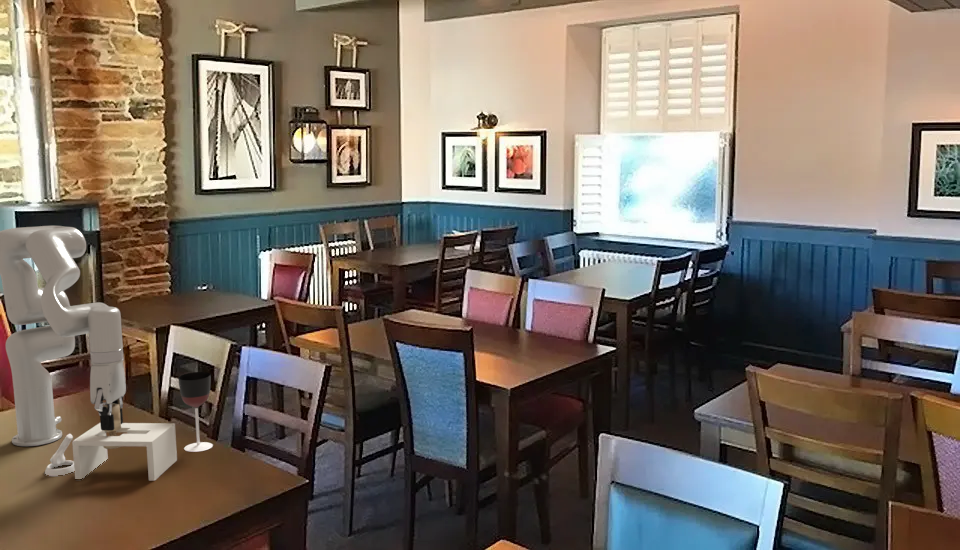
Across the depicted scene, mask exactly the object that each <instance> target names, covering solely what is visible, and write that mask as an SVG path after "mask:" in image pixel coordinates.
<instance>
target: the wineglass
mask: <svg viewBox="0 0 960 550" xmlns="http://www.w3.org/2000/svg"><path fill="white" fill-rule="evenodd" d="M211 380H212V379H211V373H210V372H206V371H196V372H189V373H187V372H186V373H184V374H182V375H179V376H178V386H179V393H180V395H181V396H180V397H181V399H182V401H183V403H184V404H185V405H188V406H190V407H192V408H194V413H195V414H194V415H195V416H194V417H195V432H196V434H195V435H196V442H193V443H189V444H187V445H185V447H184V448H183V449H184V450H185V451H186V452H192V453H194V452H195V453H196V452H203V451H207V450H209V449H212V448H213V446H214V444H213V443H211V442H207V441H204V442H203V441H201V440H200V437H201V436H200V423H199V422H200V421H199V407H200V406H201V405H203V404H205V403H206V402H207V401H208V399H209V396H210V394H211Z"/></svg>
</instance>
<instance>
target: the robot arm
mask: <svg viewBox="0 0 960 550" xmlns="http://www.w3.org/2000/svg"><path fill="white" fill-rule="evenodd" d="M86 250H87V241H86V238H85V236H84V234H83V233H82V232H81V231H80V230H79V229H77V227H73V226H62V225H42V226H41V225H40V226H26V227H22V226H21V227H13V228H12V227H11V228H7V229H3V230H0V279H1V285H2V286H1V287H2V290H3V291H2V293H3V298H4V304H5V309H6V315H7V318H8V320H9V322H11V324H13V325H16V326H23V325H31V324H38V323H44V322H47V323H48V325H46V326H40V327H39V326H38V327H32V328H27V329H22V330H18V331H15V332H14V333H12V334H10V335H9V336H8V337H7V339H6V340H5V351H6V355H7V359H8V362H9V365H10V369H11V376H12V377H11V378H12V387H13V397H14V407H15V418H16V419H15V420H16V428H17V429H16V430H17V434H16V435H14V436H12V438H11V444H13V445H15V446H17V447H36V446H41V445H47V444H50V443H53V442H56V441H58V440H60V439H61V438H62V437H63V431H62V430H60V429H58V428H57V425H58V424H60V423H61V422H62V417H61V416H60V415H57V416H55V405H54V404H55V403H54V394H53V393H54V391H53V382H52V381H53V380H52V376H51V374H50V372H49V371H48V370H47V369H46V368H45V367H44V366H43V365H42V362H46V361H50V360H55V359H56V360H57V359H60V358H65V357H67V356H69V355H71V354H72V353H73V352H74V350H75V348H76V347H75V346H76V339H75V337H77V336H80V335H87V334H88V340H89V354H90V364H91V366H90V375H89V376H90V377H89V390H90V391H89V393H90V403H91V404H92V405H94V409H95V410H96V411H97V412H98V415H99V418H100V419H99V420H100V422H99V423H101V430H114V415H113V414H112V404H119V405H120V419H121V424H122V423H124V418H123V417H124V415H123V408H124V407H123V404H124V402H123V401H124V396H125V394H126V392H127V384H126V373H125V367H124V360H125V358H124V349H123V348H124V345H123V331H122V330H123V329H122V317H121V315H122V314H121V311H120V309H119V308H118V307H114V306H109V305H107V304H106V303H104V302H99V301H98V302H91V303H84V304H77V305H71V304H70V300H69V298H68V296H67V294H66V292H65V291H66V290H68V289H70V287H72V286H73V285H74V284H75V283H76V282H77V281H78V280H79V278H80V276H81V270H80V268H79V266H78V264H77V263H76V262H75V260H74V259H77V258H81V257H82V256H84V255H85V252H86ZM24 259H31V260H32V262H33V263H34V265H35V266H36V268H37V269H38V271H39V273H40V275H41V277H42V278H43V280H44V281H45V286H44V287H39V286H38V279H37V274H36V271H35V269H34V268H33V267H32V266H31V264H29V262H27V261H26V260H24ZM104 401H105V402H104ZM104 405H108V409H107V408H106V407H104Z"/></svg>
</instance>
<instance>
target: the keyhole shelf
mask: <svg viewBox="0 0 960 550" xmlns="http://www.w3.org/2000/svg"><path fill="white" fill-rule="evenodd" d="M107 433H108V432H107V431H104V430H101V423H100V422H99V423H97V424H96V425H94V426H93V427H91V428H90V429H89V430H87V431H85V432H84V433H82V434H81V435H79V436H78V437H76V438H75V439H72V440H71V441H72V442H71V443H72V456H73V461H74V471H75V472H74V479H82V478H83V479H84V478H85V476H86V475H87V474H88V475H90V474H91V473H92V472H94V471H95V470H96V469H97V467H98V466H99V465H100V464H101V465H103V464H104V463H105V462H106V460H107V459H108V460H109V456H108V455H109V454H108V453H109V452H108V449H106V448H104V447H103V446H122V447H146V459H147V471H148V472H147V473H148V481H151V482H152V481H157V479H159V477H161V475H163V474H164V473H165V472H166V471H167V470H168V469H169V468H170V467H172V465H173V464H175V463H176V462H177V461H178V453H177V450H178V449H177V437H176V423H171V422H170V423H168V422H166V423H165V422H161V423H160V422H159V423H158V422H157V423H156V422H154V423H153V422H152V423H151V422H123V423H122V424H121V429H120V430H117V431H116V433H122V434H120V435H117V436H110V435H107ZM108 460H107V461H108ZM104 461H105V462H104ZM103 462H104V463H103ZM102 463H103V464H102ZM101 465H100V466H101ZM100 466H99V467H100ZM99 467H98V468H99ZM95 468H96V469H95ZM94 469H95V470H94ZM93 470H94V471H93ZM91 471H92V472H91ZM90 472H91V473H90ZM89 473H90V474H89ZM88 475H87V476H88ZM87 476H86V477H87ZM83 479H82V480H83Z"/></svg>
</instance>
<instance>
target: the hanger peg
mask: <svg viewBox="0 0 960 550" xmlns="http://www.w3.org/2000/svg"><path fill="white" fill-rule="evenodd" d="M103 406H104V407H106V408H107V409H108V405H103ZM120 409H121V408H120V405H119V404H112V414H113V415H114V430H104V431H107V432H106V433H109V434H108V435H109V436H118V435H117V432H116V431H117V430H120V429H121V419H120ZM103 447H104V448H106V449H107V450H112V449H113V450H114V449H118V448H122V447H123V446H103Z"/></svg>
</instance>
